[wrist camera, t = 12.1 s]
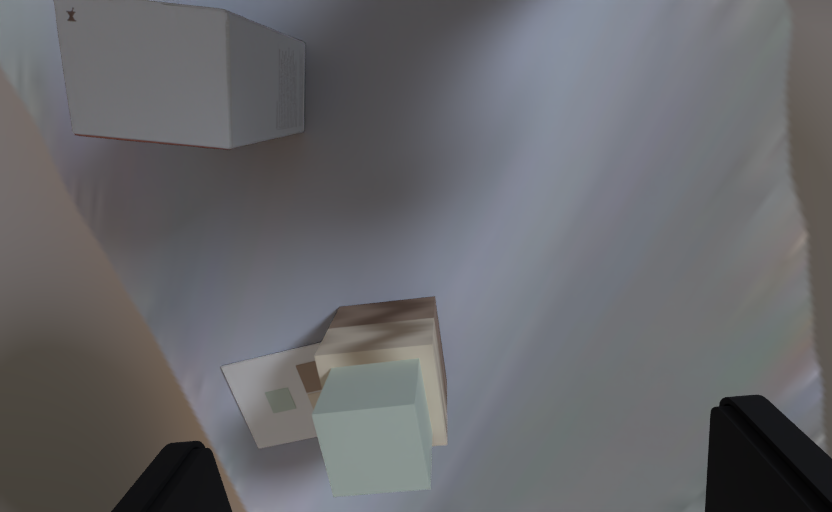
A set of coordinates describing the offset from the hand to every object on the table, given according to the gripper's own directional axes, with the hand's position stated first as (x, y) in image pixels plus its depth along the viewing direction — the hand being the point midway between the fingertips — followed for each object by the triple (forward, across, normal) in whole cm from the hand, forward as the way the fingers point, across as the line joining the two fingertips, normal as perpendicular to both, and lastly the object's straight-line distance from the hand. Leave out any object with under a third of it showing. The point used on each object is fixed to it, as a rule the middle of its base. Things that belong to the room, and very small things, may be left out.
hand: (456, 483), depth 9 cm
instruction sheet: (+28, +15, +16) cm, 36 cm away
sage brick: (+20, +6, +12) cm, 24 cm away
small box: (+28, +13, -10) cm, 33 cm away
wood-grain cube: (+28, +6, +12) cm, 31 cm away
